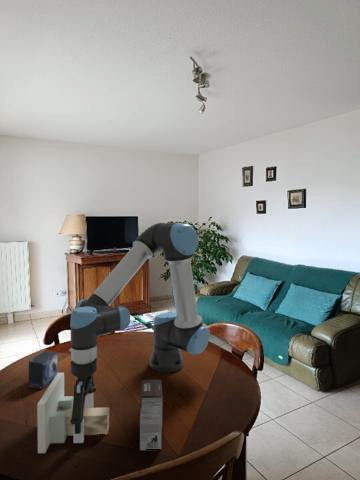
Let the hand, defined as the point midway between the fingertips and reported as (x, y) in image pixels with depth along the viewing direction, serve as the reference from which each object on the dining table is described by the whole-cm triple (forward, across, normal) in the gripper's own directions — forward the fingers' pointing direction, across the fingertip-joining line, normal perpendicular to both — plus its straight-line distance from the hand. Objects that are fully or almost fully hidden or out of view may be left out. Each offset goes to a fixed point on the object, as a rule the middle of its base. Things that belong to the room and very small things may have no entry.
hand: (84, 426), depth 97 cm
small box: (+2, -30, -22) cm, 38 cm away
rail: (+1, 0, 0) cm, 1 cm away
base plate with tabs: (+1, 0, -6) cm, 7 cm away
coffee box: (+2, +5, +20) cm, 21 cm away
